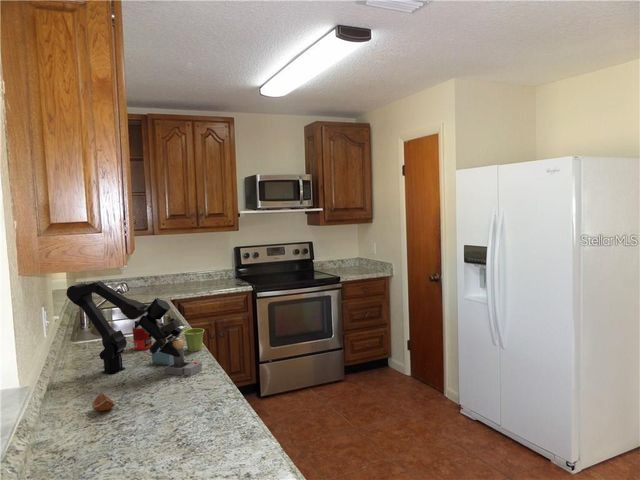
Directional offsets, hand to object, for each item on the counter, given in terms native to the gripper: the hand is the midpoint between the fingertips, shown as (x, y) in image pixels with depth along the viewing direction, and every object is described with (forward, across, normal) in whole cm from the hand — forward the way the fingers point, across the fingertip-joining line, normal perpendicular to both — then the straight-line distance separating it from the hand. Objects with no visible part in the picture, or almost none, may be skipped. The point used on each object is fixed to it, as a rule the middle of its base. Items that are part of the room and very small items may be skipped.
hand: (182, 354), depth 188 cm
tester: (+5, -1, +4) cm, 7 cm away
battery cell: (+4, 0, +6) cm, 7 cm away
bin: (-4, +12, +13) cm, 18 cm away
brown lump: (-4, -36, +13) cm, 38 cm away
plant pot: (+1, +27, +9) cm, 28 cm away
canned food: (-18, +30, +27) cm, 44 cm away
